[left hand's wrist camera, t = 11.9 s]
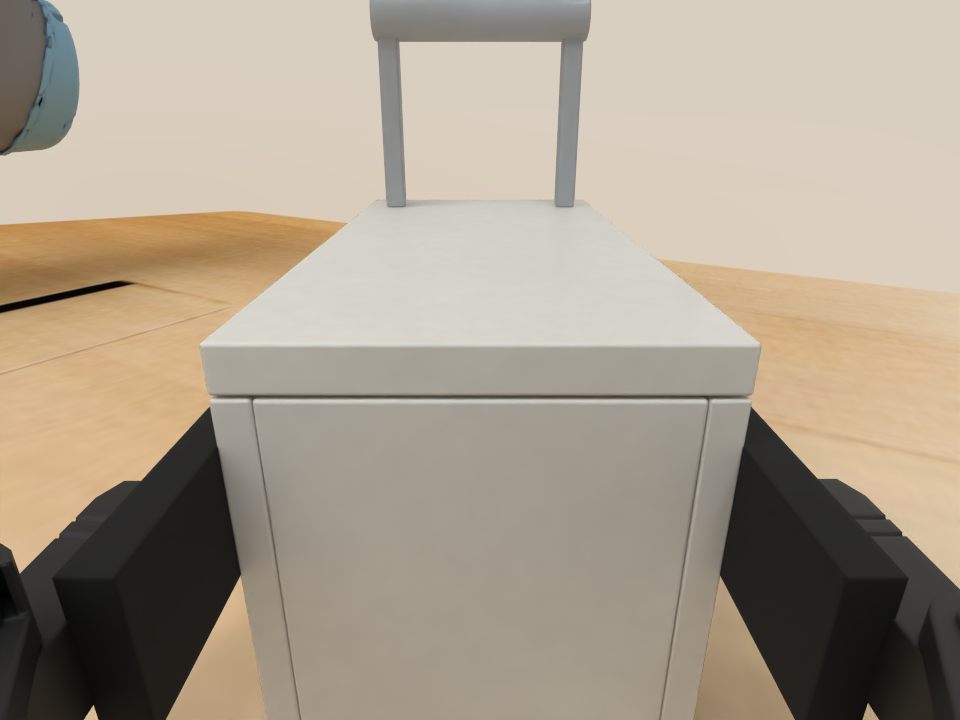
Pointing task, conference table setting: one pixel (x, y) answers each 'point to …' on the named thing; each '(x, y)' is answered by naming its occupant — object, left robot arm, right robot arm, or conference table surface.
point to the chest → (480, 551)
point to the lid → (480, 272)
